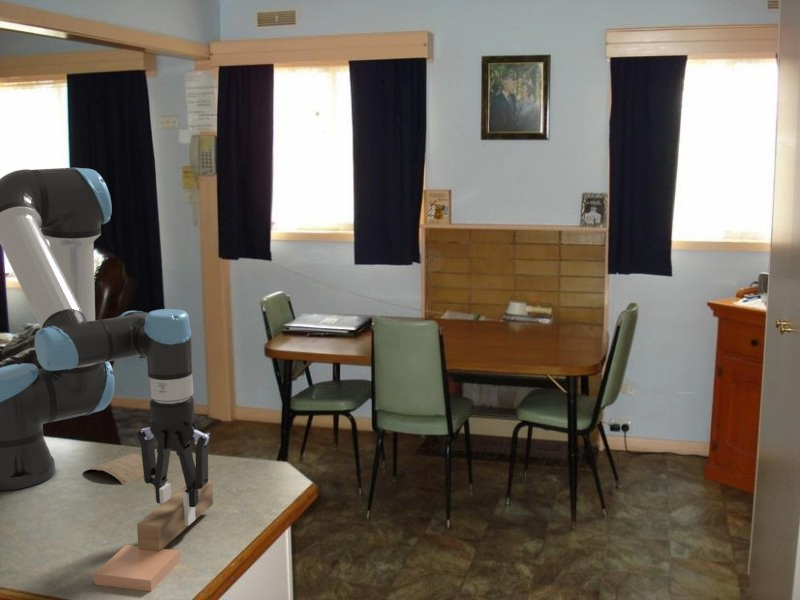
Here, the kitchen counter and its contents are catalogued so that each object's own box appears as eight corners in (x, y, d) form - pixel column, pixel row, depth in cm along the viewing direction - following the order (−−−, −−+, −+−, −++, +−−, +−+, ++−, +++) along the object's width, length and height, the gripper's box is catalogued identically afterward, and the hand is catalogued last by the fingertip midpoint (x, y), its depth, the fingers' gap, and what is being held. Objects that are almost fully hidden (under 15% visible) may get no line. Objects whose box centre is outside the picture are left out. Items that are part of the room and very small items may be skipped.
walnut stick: (193, 502, 164) (193, 480, 164) (212, 504, 163) (212, 482, 163) (138, 548, 145) (137, 523, 144) (159, 551, 144) (158, 526, 144)
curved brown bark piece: (163, 472, 184) (162, 460, 184) (127, 488, 176) (126, 476, 175) (117, 459, 191) (116, 448, 191) (79, 475, 183) (79, 463, 182)
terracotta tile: (126, 544, 147) (93, 573, 137) (179, 550, 145) (150, 580, 135) (127, 557, 147) (94, 586, 138) (180, 563, 145) (151, 593, 135)
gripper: (116, 400, 148) (125, 525, 153) (206, 407, 144) (212, 535, 149) (139, 388, 155) (146, 507, 160) (225, 394, 152) (230, 517, 156)
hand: (178, 520), depth 154 cm, fingers closed on walnut stick, 4 cm apart
